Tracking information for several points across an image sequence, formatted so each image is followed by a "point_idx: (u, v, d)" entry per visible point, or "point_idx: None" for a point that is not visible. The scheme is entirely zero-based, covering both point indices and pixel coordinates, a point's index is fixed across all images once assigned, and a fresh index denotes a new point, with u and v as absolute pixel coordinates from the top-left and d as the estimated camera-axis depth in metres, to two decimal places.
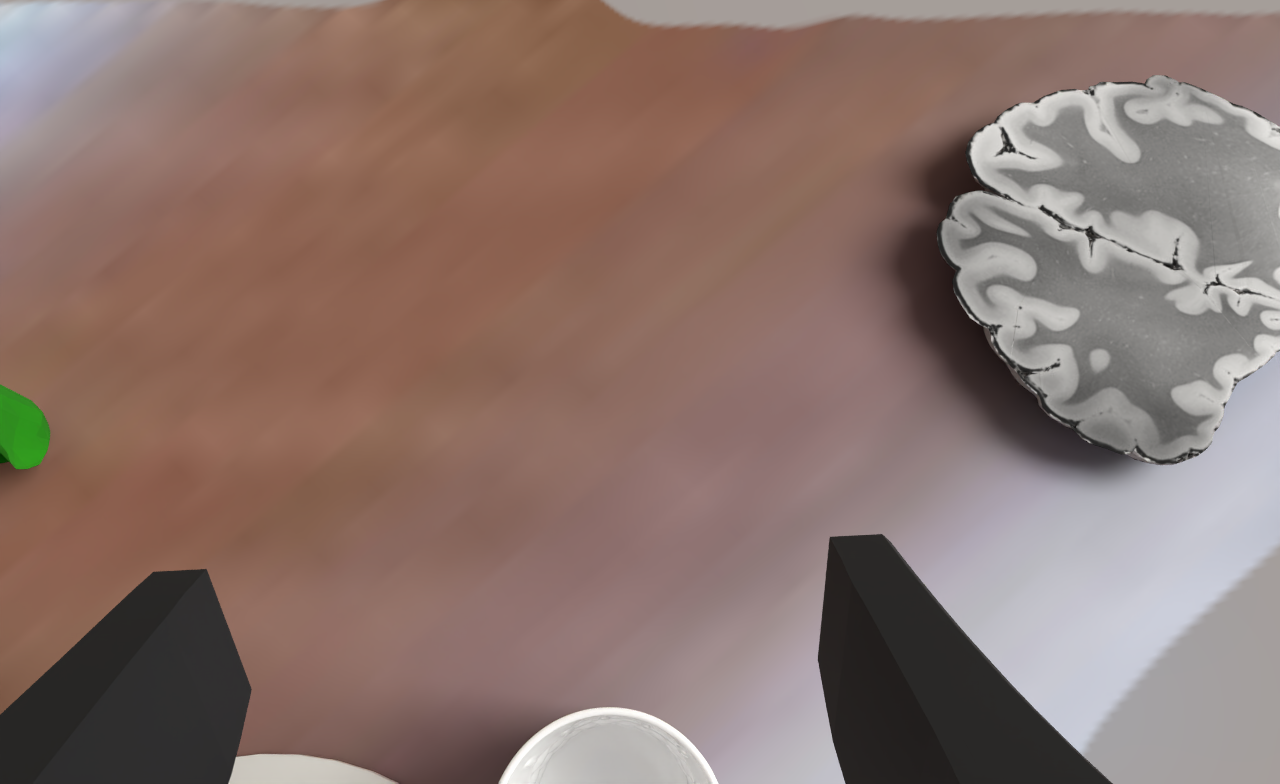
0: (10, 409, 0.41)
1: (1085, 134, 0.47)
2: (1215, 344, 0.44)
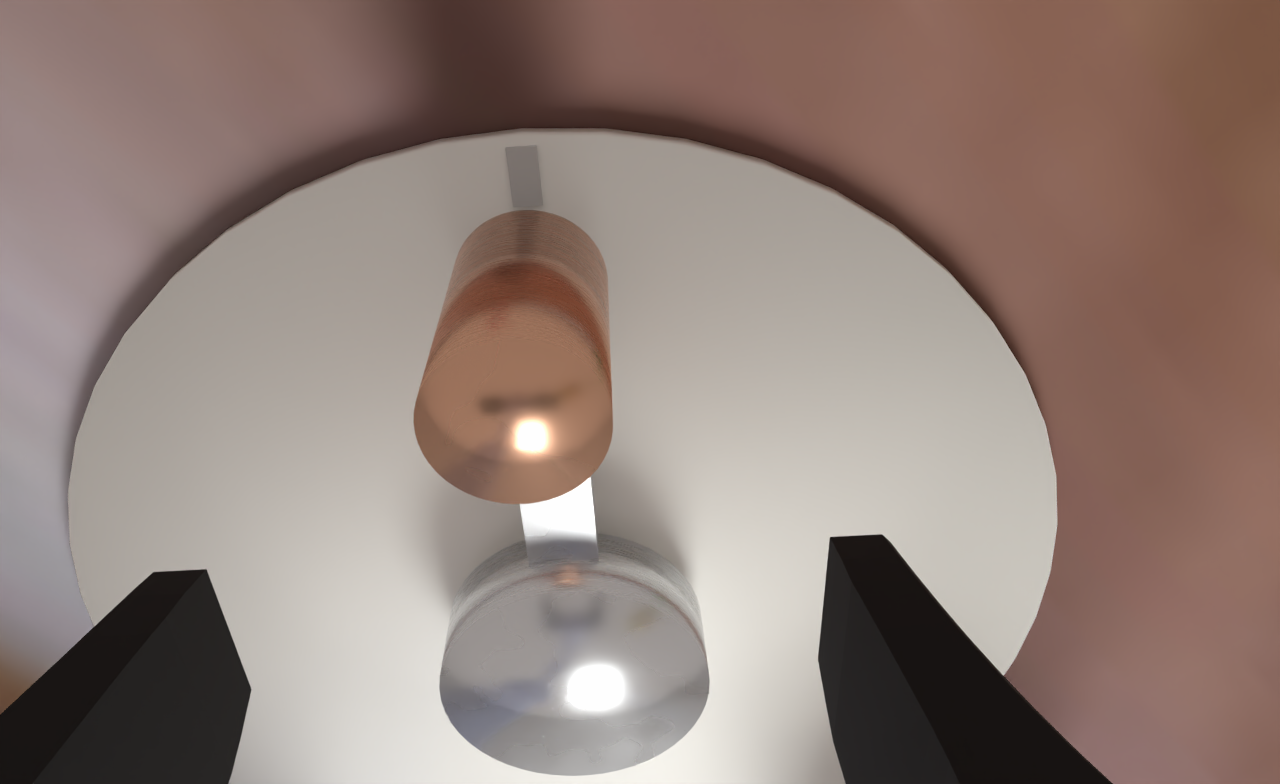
0: None
1: None
2: None
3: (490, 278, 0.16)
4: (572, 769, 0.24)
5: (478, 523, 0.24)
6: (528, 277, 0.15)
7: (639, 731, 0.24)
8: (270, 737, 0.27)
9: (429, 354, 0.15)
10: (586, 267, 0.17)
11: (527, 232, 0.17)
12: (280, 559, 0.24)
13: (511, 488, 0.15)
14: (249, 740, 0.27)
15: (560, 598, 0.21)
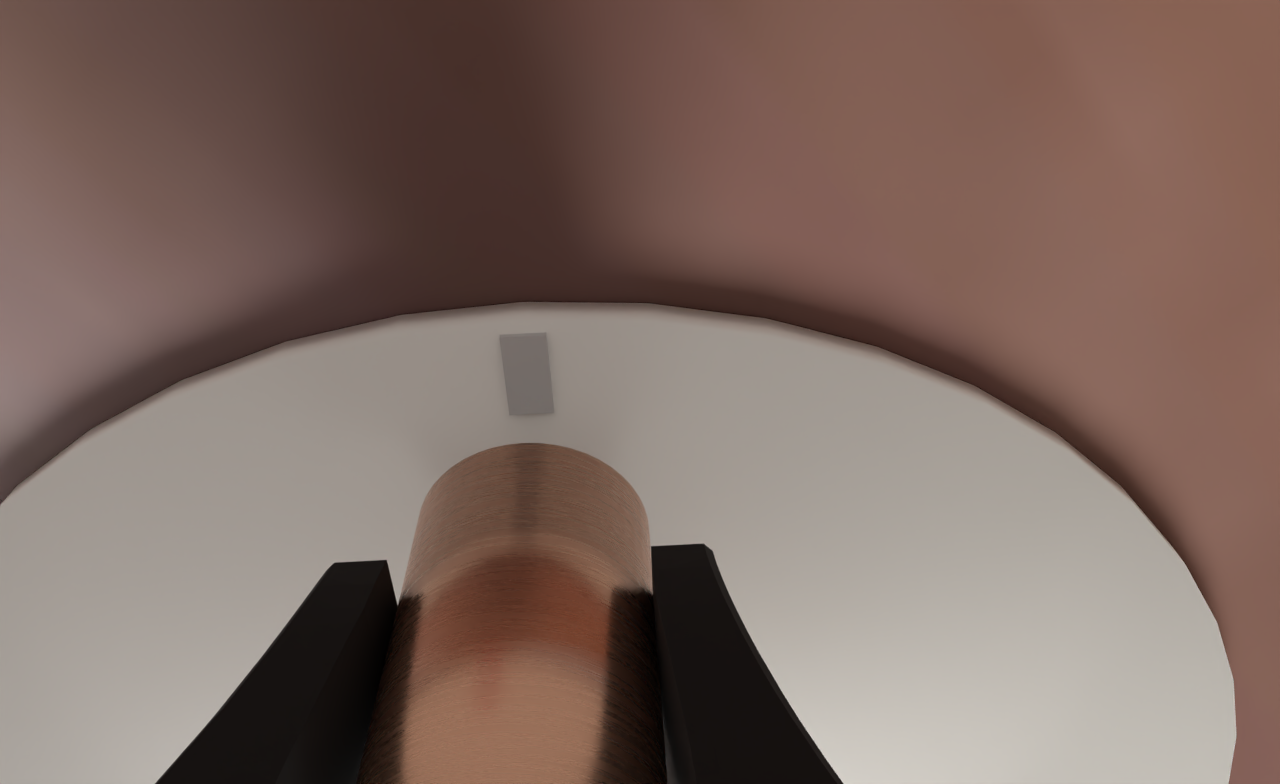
0: None
1: None
2: None
3: (469, 617, 0.09)
4: None
5: None
6: (533, 622, 0.09)
7: None
8: None
9: (362, 764, 0.09)
10: (623, 556, 0.11)
11: (531, 497, 0.11)
12: None
13: None
14: None
15: None
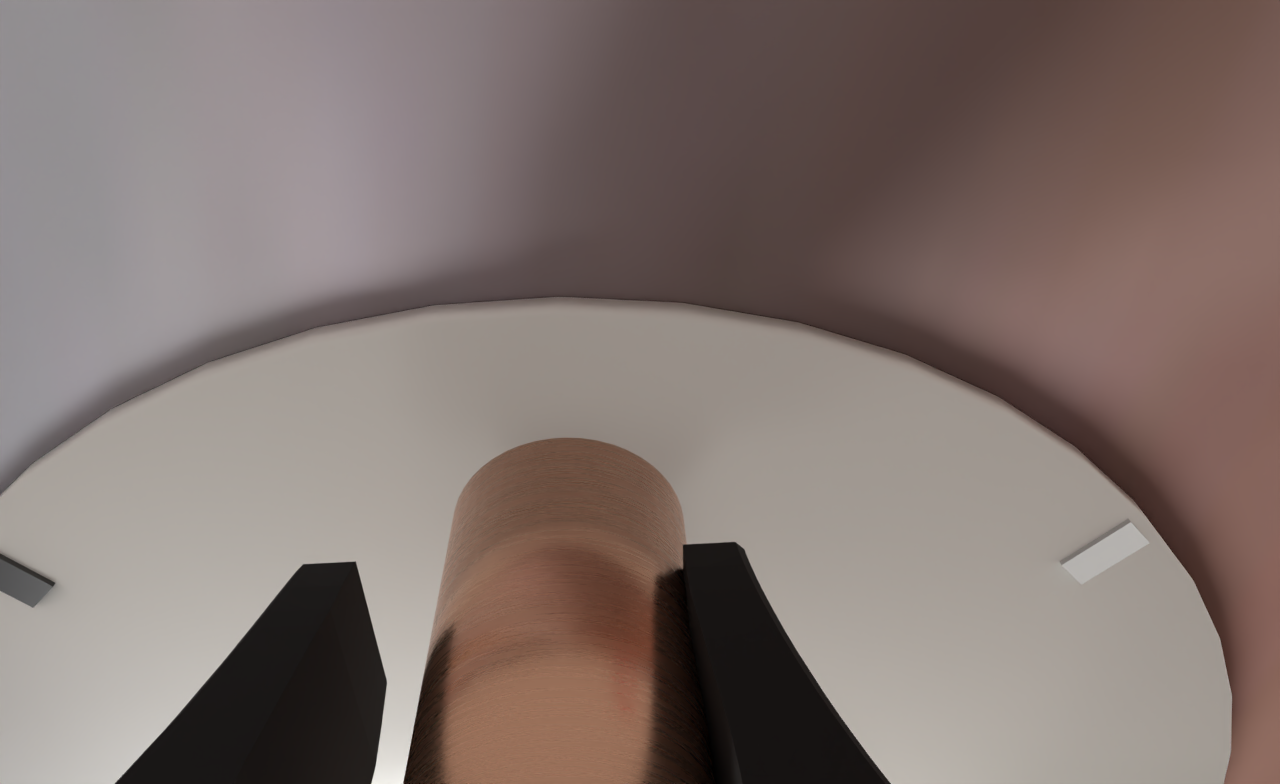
0: None
1: None
2: None
3: (524, 609, 0.09)
4: None
5: None
6: (588, 615, 0.09)
7: None
8: (30, 780, 0.17)
9: (415, 753, 0.09)
10: (668, 555, 0.11)
11: (579, 492, 0.11)
12: None
13: None
14: None
15: None
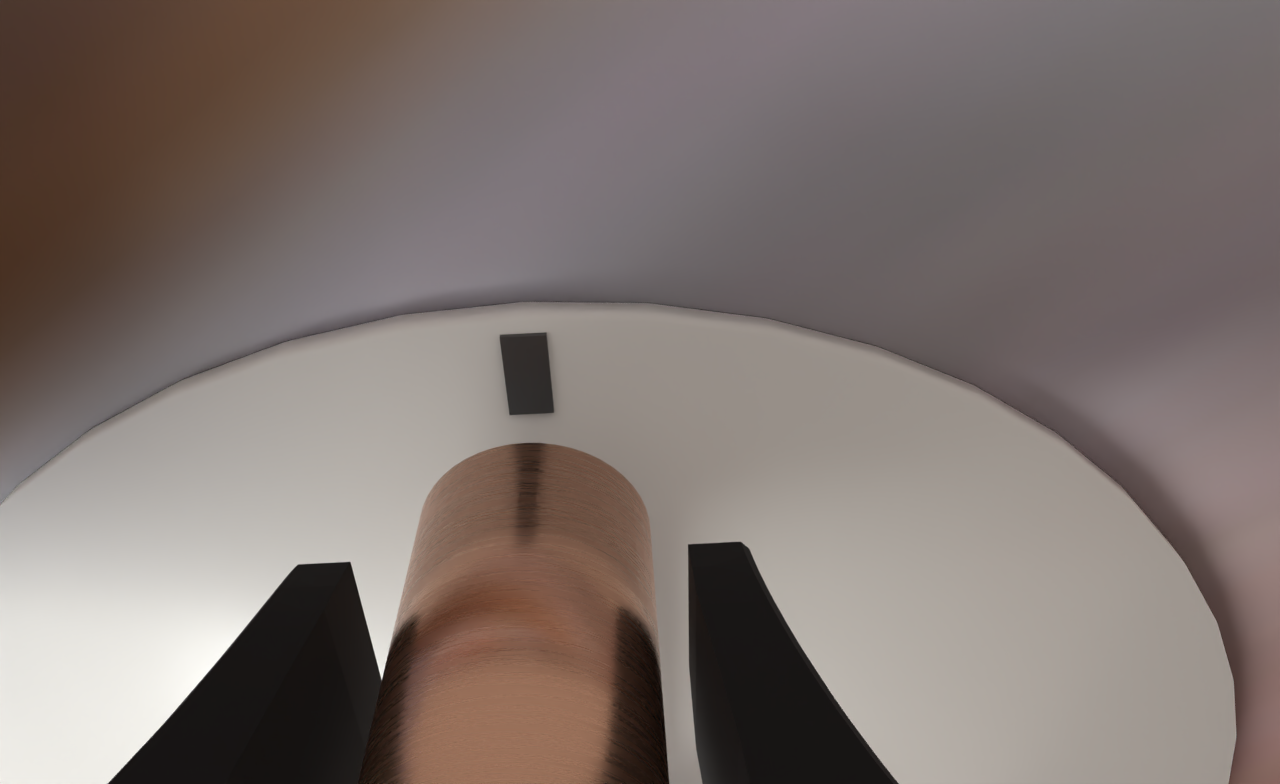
0: None
1: None
2: None
3: (471, 616, 0.09)
4: None
5: None
6: (534, 622, 0.09)
7: None
8: (249, 536, 0.14)
9: (364, 764, 0.09)
10: (625, 557, 0.11)
11: (533, 497, 0.11)
12: None
13: None
14: (233, 504, 0.14)
15: None
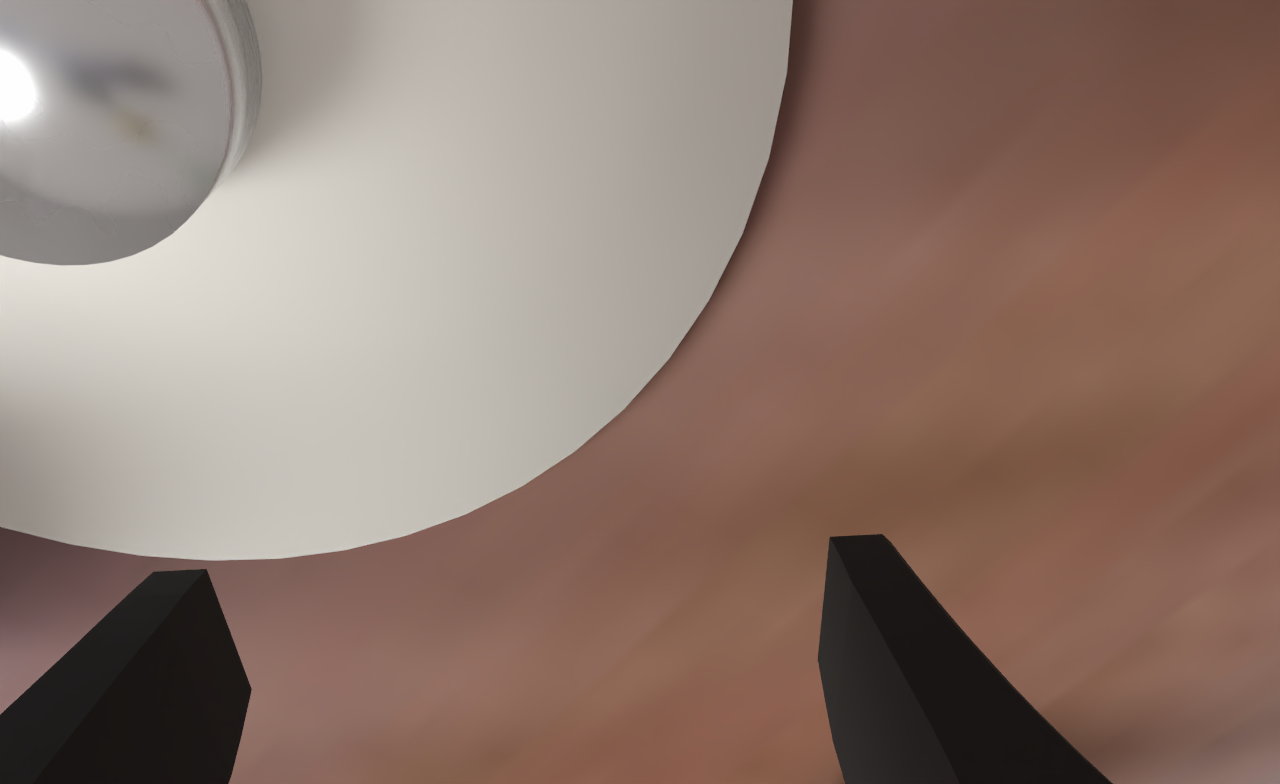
0: None
1: None
2: None
3: None
4: (82, 250, 0.16)
5: None
6: None
7: (146, 157, 0.15)
8: None
9: None
10: None
11: None
12: None
13: None
14: None
15: None
